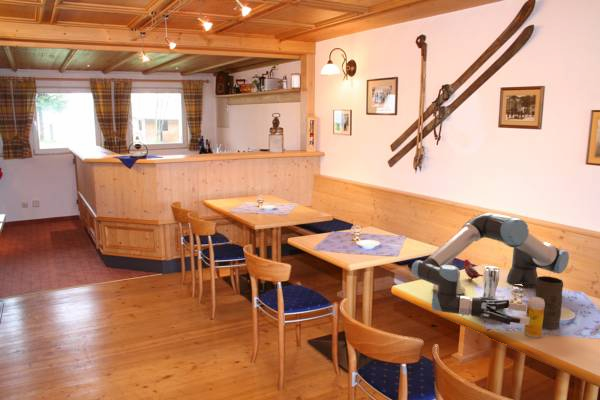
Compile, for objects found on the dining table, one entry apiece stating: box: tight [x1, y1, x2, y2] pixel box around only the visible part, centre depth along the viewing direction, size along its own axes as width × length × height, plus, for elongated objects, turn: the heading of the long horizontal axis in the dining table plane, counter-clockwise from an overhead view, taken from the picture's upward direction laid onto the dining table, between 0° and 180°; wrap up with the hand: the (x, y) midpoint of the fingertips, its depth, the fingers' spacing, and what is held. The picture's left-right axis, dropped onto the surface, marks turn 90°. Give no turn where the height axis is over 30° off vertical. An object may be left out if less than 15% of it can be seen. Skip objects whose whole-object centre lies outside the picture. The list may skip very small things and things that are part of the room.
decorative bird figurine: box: [463, 259, 483, 282], centre depth 256 cm, size 3×18×10 cm, turn 16°
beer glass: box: [481, 266, 500, 299], centre depth 232 cm, size 7×7×15 cm
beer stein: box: [534, 275, 564, 330], centre depth 207 cm, size 15×11×20 cm
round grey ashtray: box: [476, 296, 505, 320], centre depth 216 cm, size 12×12×5 cm
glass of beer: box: [524, 296, 545, 339], centre depth 195 cm, size 6×6×15 cm
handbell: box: [432, 258, 466, 295], centre depth 239 cm, size 15×15×25 cm
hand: (527, 314), depth 195 cm, fingers open, 13 cm apart
